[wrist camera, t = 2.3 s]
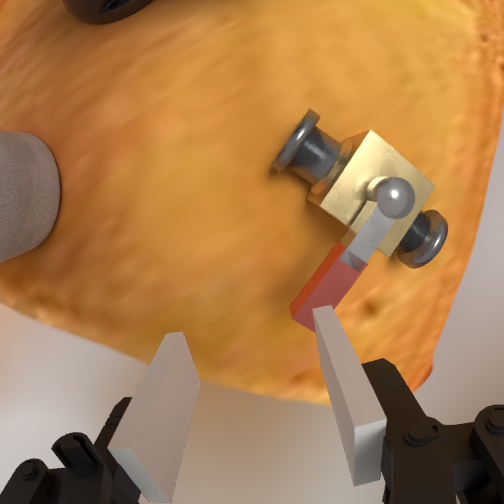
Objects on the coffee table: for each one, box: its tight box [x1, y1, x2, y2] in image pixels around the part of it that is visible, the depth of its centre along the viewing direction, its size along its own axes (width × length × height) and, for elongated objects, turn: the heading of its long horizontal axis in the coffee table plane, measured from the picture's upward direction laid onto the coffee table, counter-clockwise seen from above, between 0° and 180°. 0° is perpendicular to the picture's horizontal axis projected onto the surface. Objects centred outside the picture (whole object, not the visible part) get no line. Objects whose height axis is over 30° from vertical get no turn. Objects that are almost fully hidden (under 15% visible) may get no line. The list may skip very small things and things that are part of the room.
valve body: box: [270, 109, 448, 268], centre depth 29 cm, size 18×8×8 cm, turn 57°
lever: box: [290, 176, 415, 333], centre depth 25 cm, size 14×3×3 cm, turn 147°
